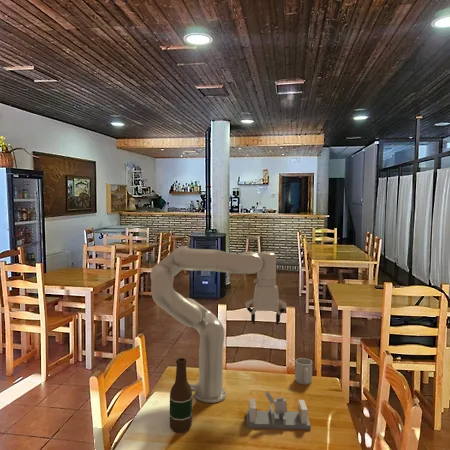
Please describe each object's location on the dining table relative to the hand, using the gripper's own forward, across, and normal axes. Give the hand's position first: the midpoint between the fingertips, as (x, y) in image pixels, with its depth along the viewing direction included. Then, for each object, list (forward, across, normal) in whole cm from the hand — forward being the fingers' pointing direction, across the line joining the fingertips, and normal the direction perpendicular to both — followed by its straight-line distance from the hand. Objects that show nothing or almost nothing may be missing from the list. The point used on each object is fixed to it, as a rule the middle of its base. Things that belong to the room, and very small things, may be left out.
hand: (265, 323), depth 167 cm
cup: (+29, +18, +8) cm, 35 cm away
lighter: (+25, +3, -24) cm, 35 cm away
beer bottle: (+28, -31, -29) cm, 51 cm away
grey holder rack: (+28, +3, -24) cm, 37 cm away
